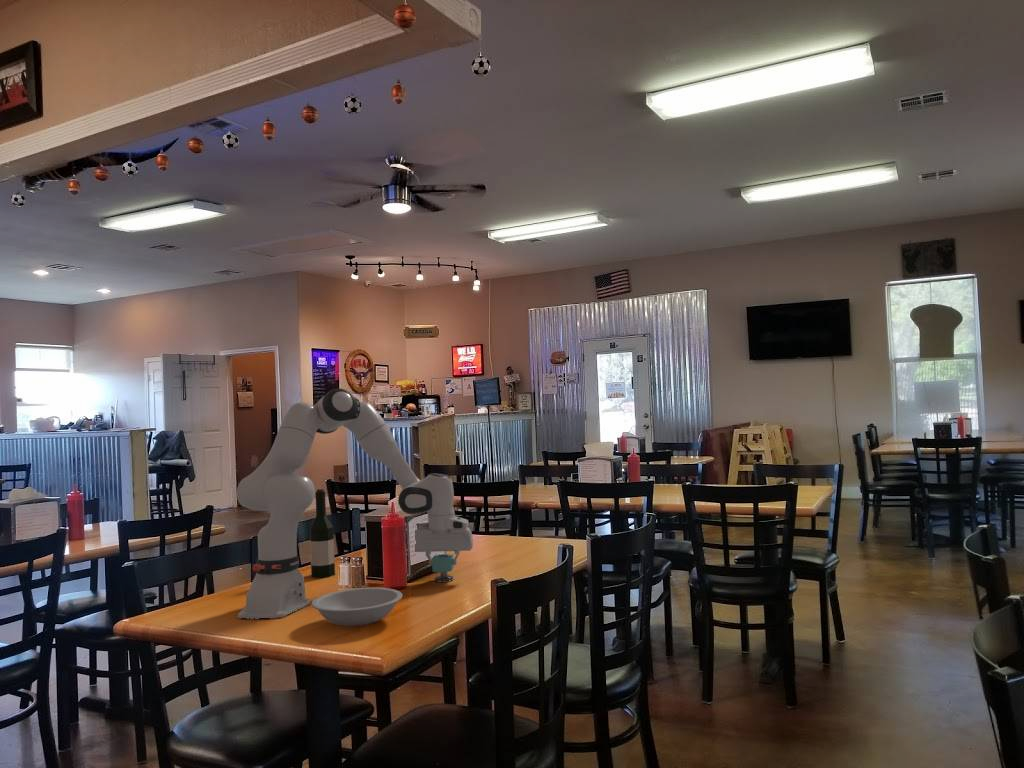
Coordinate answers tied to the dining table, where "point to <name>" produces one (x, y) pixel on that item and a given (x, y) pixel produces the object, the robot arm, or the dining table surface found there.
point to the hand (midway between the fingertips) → (443, 564)
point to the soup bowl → (357, 605)
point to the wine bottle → (321, 541)
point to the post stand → (443, 577)
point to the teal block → (442, 563)
